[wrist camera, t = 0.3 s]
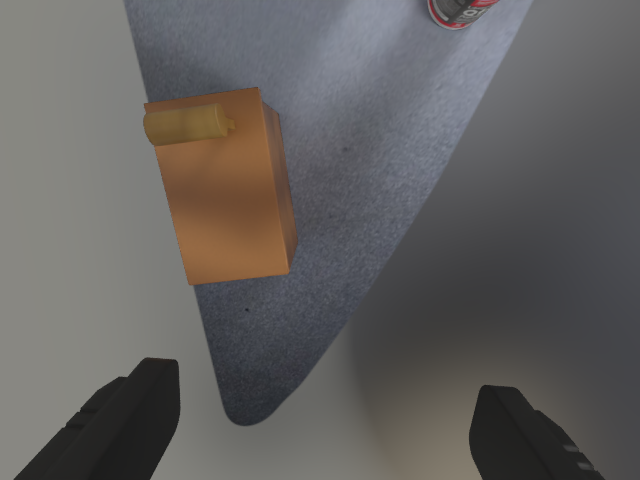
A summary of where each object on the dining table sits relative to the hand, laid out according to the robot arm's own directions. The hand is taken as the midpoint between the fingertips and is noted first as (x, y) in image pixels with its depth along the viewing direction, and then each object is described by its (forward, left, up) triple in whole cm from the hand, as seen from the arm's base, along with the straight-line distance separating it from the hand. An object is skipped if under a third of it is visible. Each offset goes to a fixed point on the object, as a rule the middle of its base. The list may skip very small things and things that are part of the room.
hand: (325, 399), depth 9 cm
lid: (-2, -8, -19) cm, 21 cm away
